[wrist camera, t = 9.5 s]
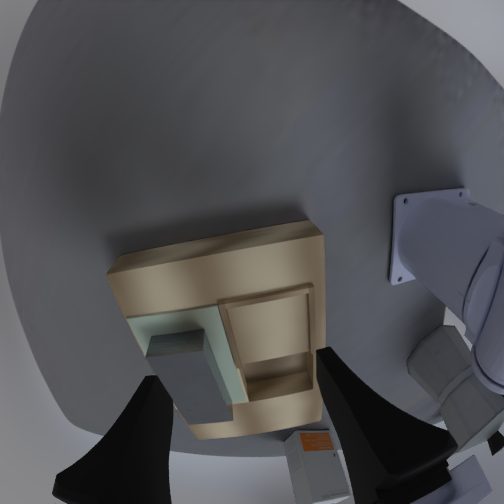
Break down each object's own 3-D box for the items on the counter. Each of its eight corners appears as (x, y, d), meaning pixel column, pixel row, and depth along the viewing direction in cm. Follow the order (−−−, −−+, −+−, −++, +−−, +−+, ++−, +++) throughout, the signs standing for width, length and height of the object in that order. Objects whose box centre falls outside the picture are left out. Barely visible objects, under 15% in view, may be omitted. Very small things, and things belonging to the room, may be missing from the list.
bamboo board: (309, 219, 19) (325, 236, 16) (314, 400, 28) (322, 423, 25) (120, 255, 18) (103, 277, 15) (198, 419, 28) (198, 442, 24)
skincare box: (331, 428, 32) (353, 495, 21) (316, 441, 33) (334, 504, 23) (295, 429, 31) (313, 503, 20) (281, 442, 32) (296, 511, 21)
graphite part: (204, 328, 18) (203, 350, 16) (232, 401, 22) (233, 420, 20) (151, 335, 18) (145, 357, 16) (189, 405, 21) (188, 424, 19)
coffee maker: (425, 381, 31) (477, 468, 14) (385, 386, 29) (440, 494, 13) (480, 297, 25) (561, 381, 9) (448, 290, 24) (549, 398, 7)
